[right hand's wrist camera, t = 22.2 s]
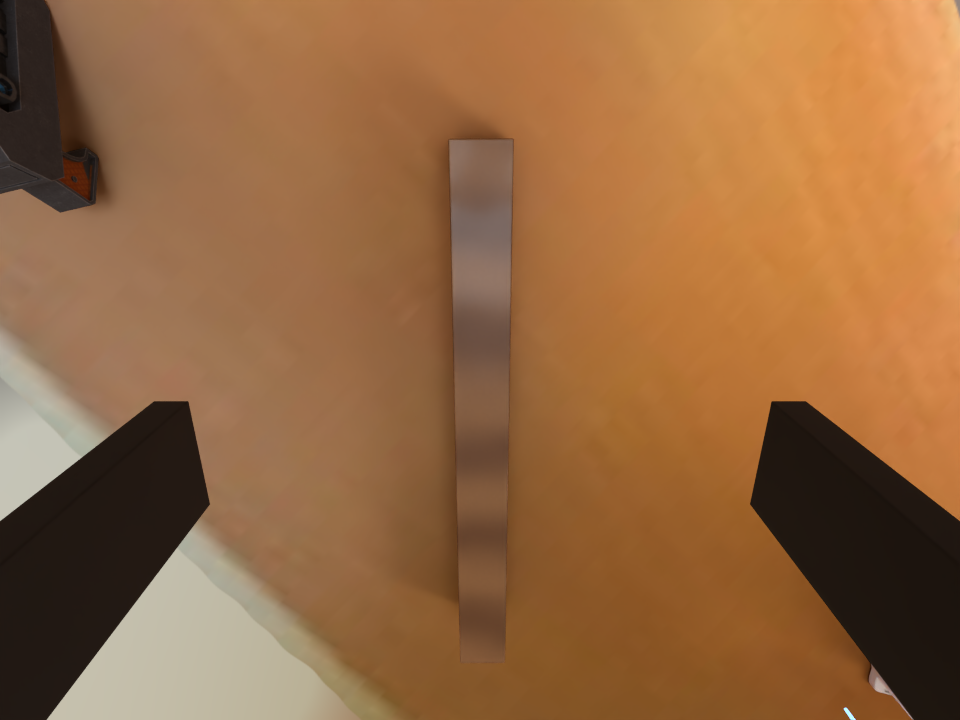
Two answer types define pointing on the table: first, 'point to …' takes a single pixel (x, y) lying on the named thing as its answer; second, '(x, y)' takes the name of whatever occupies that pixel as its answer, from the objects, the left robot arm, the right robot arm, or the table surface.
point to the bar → (481, 384)
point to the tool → (36, 114)
